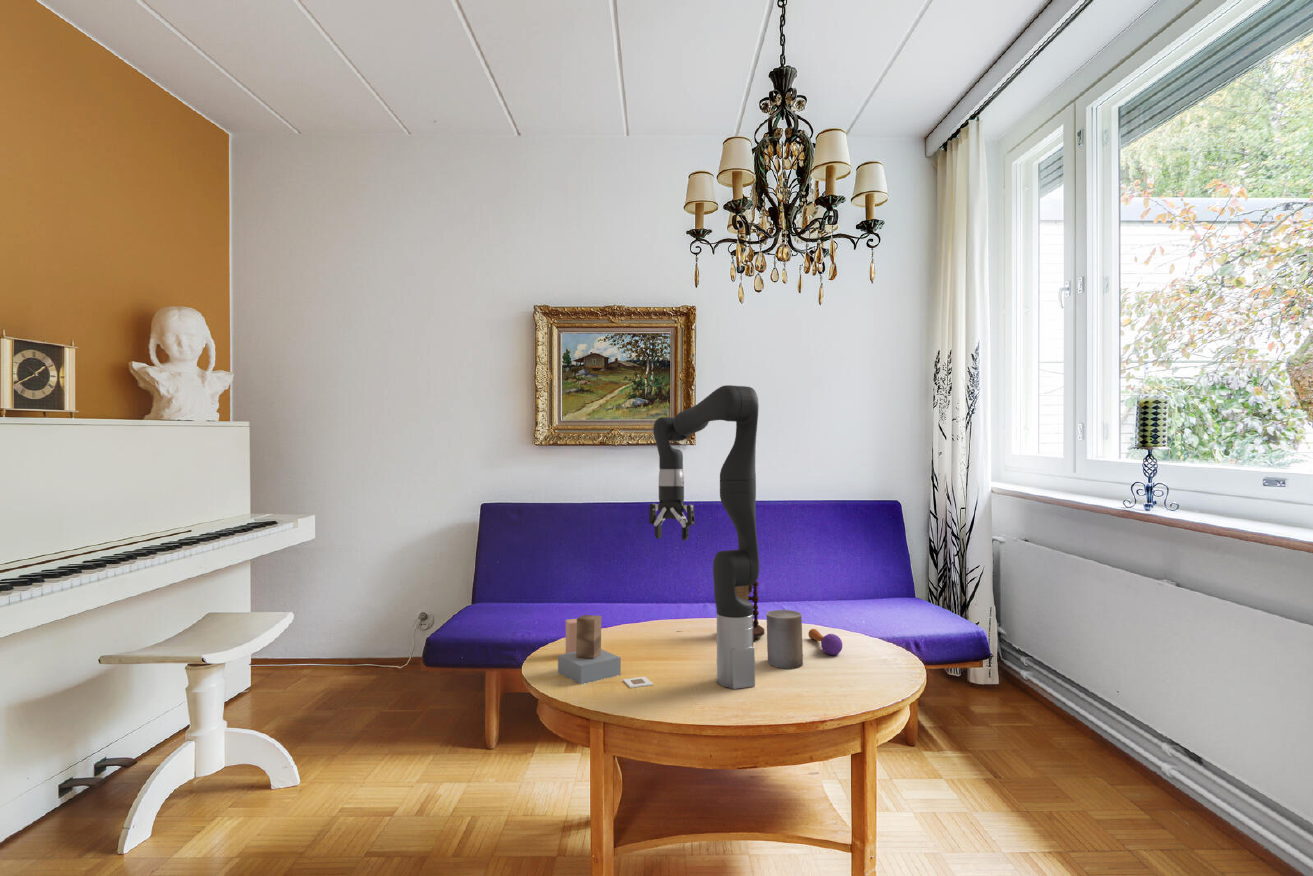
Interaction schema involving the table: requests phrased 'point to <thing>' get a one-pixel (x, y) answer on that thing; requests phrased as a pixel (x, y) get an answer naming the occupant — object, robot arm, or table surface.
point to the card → (637, 682)
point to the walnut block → (588, 636)
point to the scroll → (744, 593)
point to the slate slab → (589, 667)
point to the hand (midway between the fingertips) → (671, 539)
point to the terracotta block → (571, 635)
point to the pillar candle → (784, 638)
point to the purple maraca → (827, 642)
